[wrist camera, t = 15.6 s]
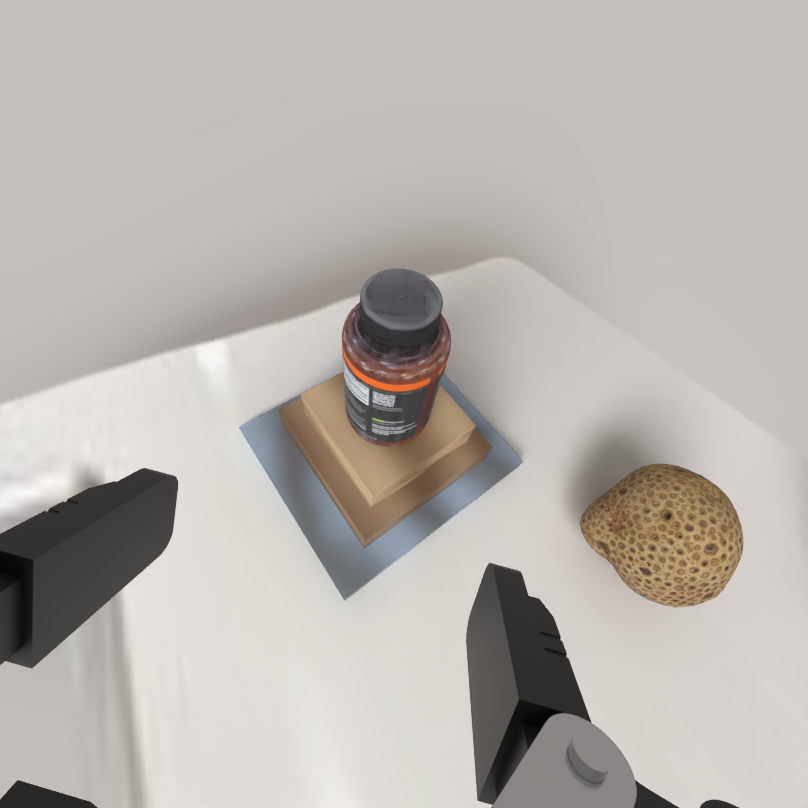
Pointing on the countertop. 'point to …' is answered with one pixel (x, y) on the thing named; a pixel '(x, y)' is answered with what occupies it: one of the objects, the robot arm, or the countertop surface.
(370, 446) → the block tower
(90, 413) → the countertop surface
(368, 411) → the supplement bottle
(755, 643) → the countertop surface
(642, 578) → the natural sponge
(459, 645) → the countertop surface
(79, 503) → the robot arm
